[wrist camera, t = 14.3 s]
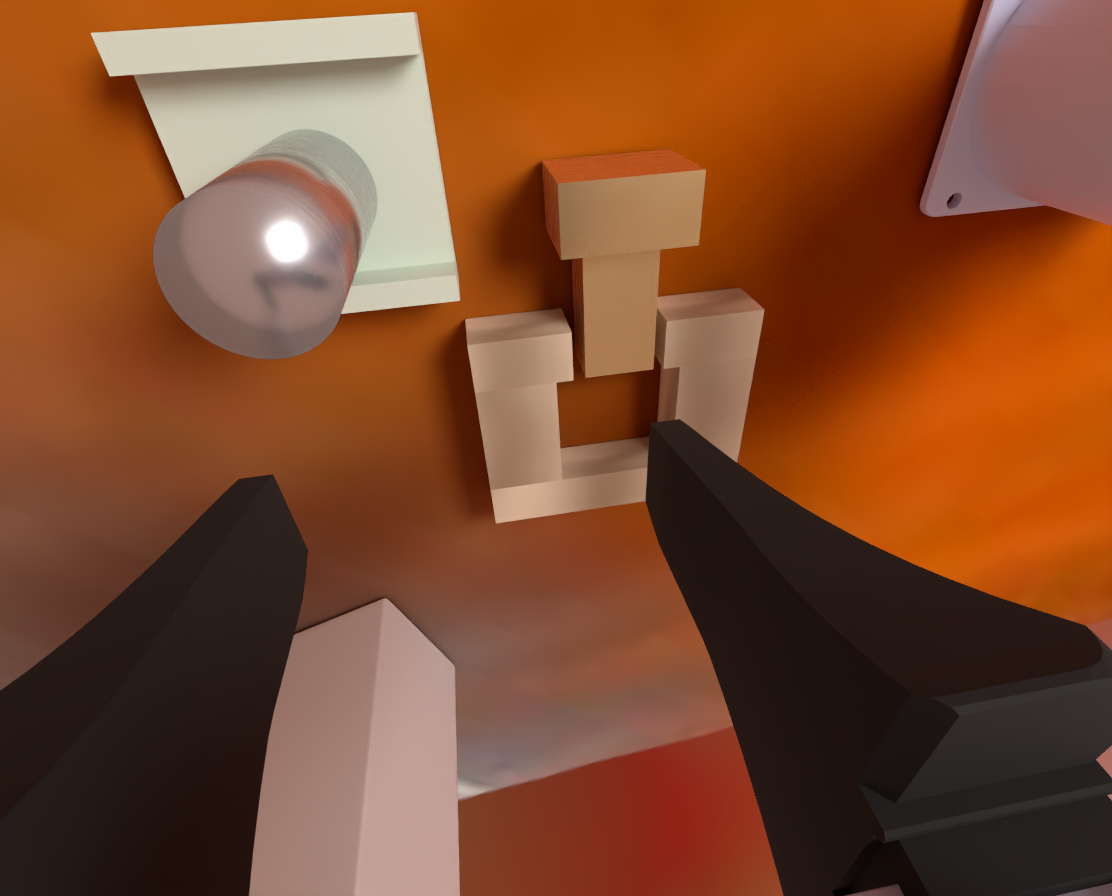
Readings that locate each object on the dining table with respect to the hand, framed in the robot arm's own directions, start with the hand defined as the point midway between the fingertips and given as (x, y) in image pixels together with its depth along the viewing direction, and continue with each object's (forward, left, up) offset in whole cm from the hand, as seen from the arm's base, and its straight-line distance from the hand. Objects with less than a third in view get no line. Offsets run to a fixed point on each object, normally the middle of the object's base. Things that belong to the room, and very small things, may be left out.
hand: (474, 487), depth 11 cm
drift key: (-5, 0, -10) cm, 11 cm away
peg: (+4, -4, -9) cm, 11 cm away
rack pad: (+4, -4, -10) cm, 12 cm away
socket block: (-5, +5, -10) cm, 12 cm away
